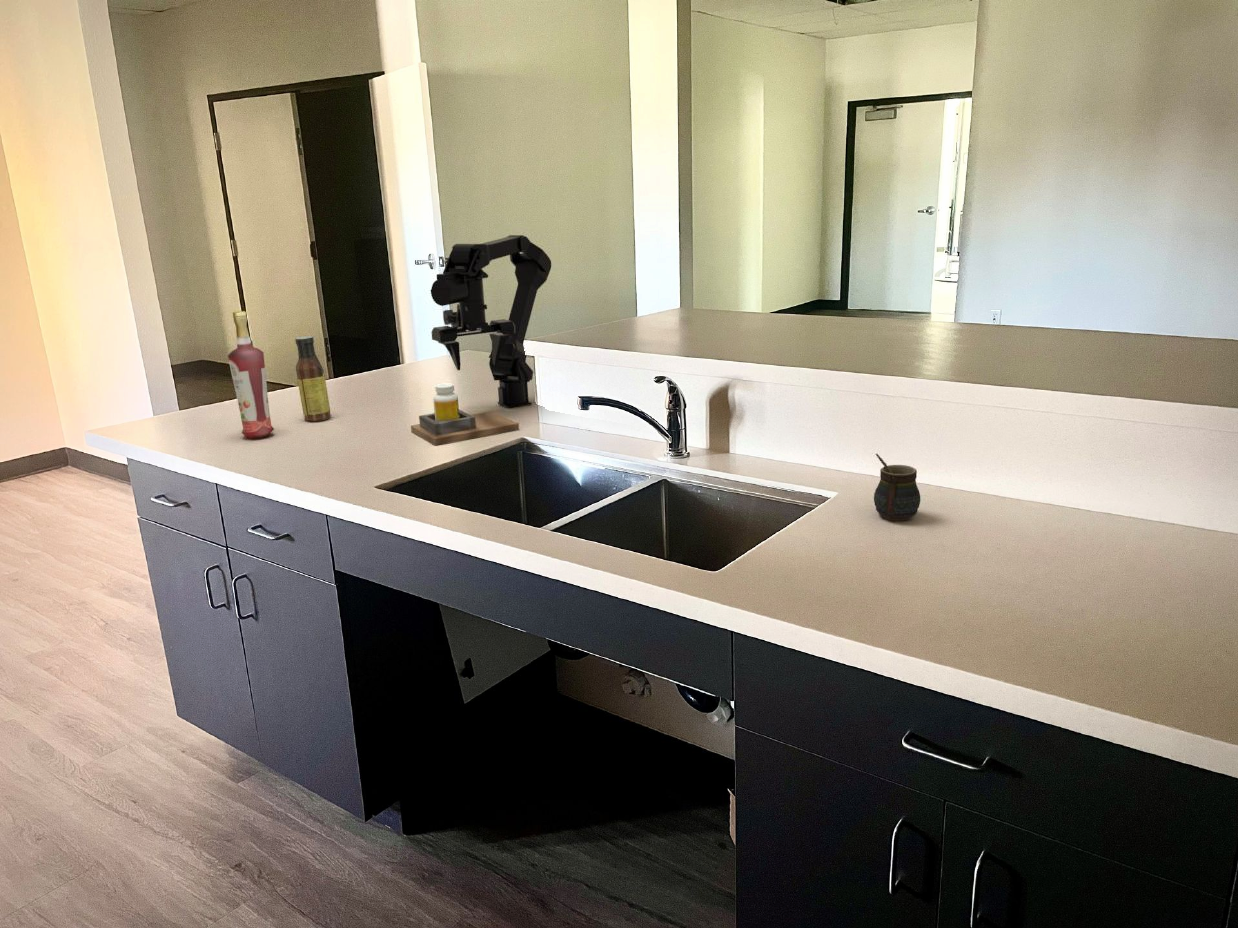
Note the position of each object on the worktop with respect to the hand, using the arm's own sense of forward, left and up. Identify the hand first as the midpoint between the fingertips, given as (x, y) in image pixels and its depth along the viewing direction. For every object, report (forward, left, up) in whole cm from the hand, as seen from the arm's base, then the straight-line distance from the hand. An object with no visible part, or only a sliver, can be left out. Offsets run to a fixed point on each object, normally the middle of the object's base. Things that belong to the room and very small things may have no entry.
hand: (476, 367), depth 210 cm
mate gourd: (-26, +102, -12) cm, 106 cm away
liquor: (+47, -17, -12) cm, 51 cm away
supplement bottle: (+12, +9, -11) cm, 18 cm away
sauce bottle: (+32, -24, -12) cm, 42 cm away
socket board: (+8, +9, -12) cm, 17 cm away
